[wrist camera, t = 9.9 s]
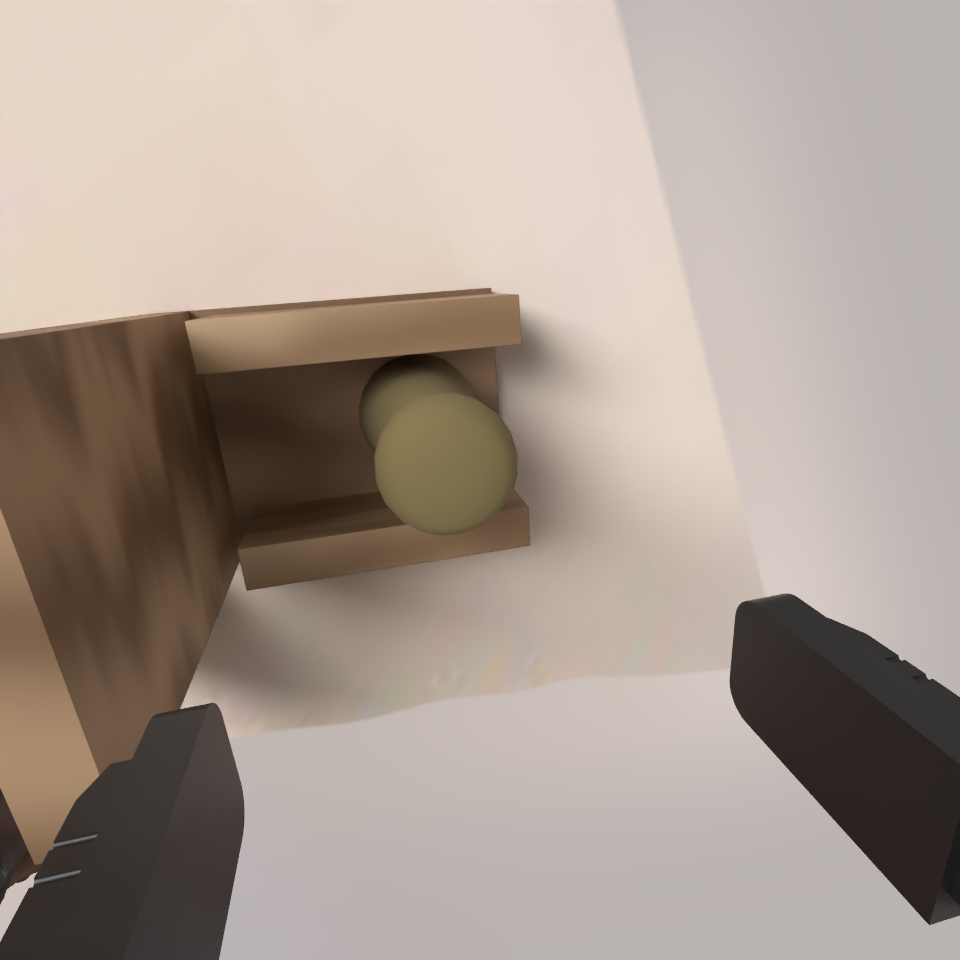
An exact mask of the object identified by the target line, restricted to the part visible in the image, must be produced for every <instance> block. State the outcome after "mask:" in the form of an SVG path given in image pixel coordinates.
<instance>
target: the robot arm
mask: <svg viewBox="0 0 960 960" xmlns="http://www.w3.org/2000/svg"><path fill="white" fill-rule="evenodd" d="M730 689H731V694H732V697H733V700H734V703H735V705H736V708H737V710H738V711H739V713H740V715H741V716H742V718H743V719H744V720H745V722H746V723H747V724H748V725H749V726H750V727H751V728H752V729H753V731H754V732H755V733H756V734H757V735H758V736H759V737H760V738H761V739H762V740H763V742H764V743H765V744H766V745H767V746H768V747H769V748H770V749H771V750H772V752H773V753H774V754H775V755H776V756H777V757H778V758H779V759H780V760H781V762H782V763H783V764H784V765H785V766H786V767H787V768H788V769H789V770H790V772H791V773H792V774H793V775H794V776H795V777H796V778H797V779H798V780H799V781H800V783H801V784H802V785H803V786H804V787H805V788H806V789H807V790H808V791H809V793H810V794H811V795H812V796H813V797H814V798H815V799H816V800H817V801H818V802H819V803H820V805H821V806H822V807H823V808H824V809H825V810H826V811H827V813H828V814H829V815H830V816H831V817H832V818H833V819H834V820H835V821H836V822H837V824H839V826H840V827H841V828H842V829H843V830H844V831H845V832H846V834H847V835H848V836H849V837H850V838H851V839H852V840H853V841H854V842H855V844H856V845H857V846H858V847H859V848H860V849H861V850H862V851H863V852H864V853H865V854H866V855H867V857H868V858H869V859H870V860H871V861H872V862H873V863H874V865H875V866H876V867H877V868H878V869H879V870H880V871H881V872H882V873H883V874H884V876H885V877H886V878H887V879H888V880H889V881H890V882H891V883H892V884H893V886H894V887H895V888H896V889H897V890H898V891H899V892H900V893H901V894H902V895H903V897H904V898H905V899H906V900H907V901H908V902H909V903H910V904H911V905H912V906H913V908H914V909H915V910H916V911H917V912H918V913H919V914H920V915H921V917H922V918H923V919H924V920H925V921H926V922H927V923H928V924H929V925H931V924H934V923H937V922H940V921H943V920H947V919H950V918H953V917H956V916H959V915H960V697H959V696H957V695H956V694H954V693H953V692H951V691H950V690H949V689H947V688H946V687H944V686H943V685H941V684H940V683H938V682H937V681H935V680H934V679H931V680H928V679H927V677H926V674H925V673H923V672H922V671H920V670H919V669H917V668H916V667H915V666H913V665H911V664H910V663H909V662H907V661H906V660H903V661H901V660H900V659H899V657H898V655H897V654H895V653H894V652H892V651H891V650H889V649H888V648H887V647H885V646H884V645H882V644H880V643H879V642H878V641H876V640H875V639H873V638H872V637H870V636H869V635H867V634H865V633H863V632H860V631H858V630H856V629H853V628H851V627H848V626H846V625H844V624H841V623H839V622H837V621H834V620H832V619H829V618H826V617H825V616H823V615H822V614H821V613H819V612H818V611H816V610H815V609H814V608H812V607H811V606H809V605H808V604H806V603H805V602H803V601H802V600H801V599H799V598H798V597H796V596H794V595H792V594H781V595H776V596H771V597H765V598H760V599H755V600H750V601H745V602H742V603H741V604H740V605H739V606H738V608H737V611H736V616H735V626H734V637H733V648H732V659H731V671H730ZM243 829H244V798H243V790H242V786H241V782H240V778H239V774H238V771H237V767H236V764H235V760H234V757H233V753H232V749H231V746H230V742H229V738H228V735H227V731H226V728H225V724H224V720H223V717H222V714H221V711H220V709H219V707H218V706H217V705H216V704H215V703H210V704H205V705H200V706H195V707H189V708H184V709H179V710H174V711H169V712H164V713H158V714H155V715H154V716H153V717H152V718H151V719H150V721H149V723H148V725H147V727H146V729H145V732H144V734H143V736H142V738H141V740H140V742H139V745H138V747H137V749H136V751H135V753H134V756H133V758H132V759H131V760H126V761H121V762H116V763H111V764H110V765H109V766H108V767H107V768H106V769H105V770H104V771H103V772H102V773H101V774H100V775H99V776H98V777H97V779H96V780H95V781H94V782H93V783H92V784H91V785H90V786H89V787H88V788H87V789H86V790H85V791H84V792H83V793H82V794H81V795H80V796H79V797H78V798H77V800H76V801H75V802H74V804H73V806H72V808H71V810H70V812H69V814H68V815H67V817H66V819H65V821H64V823H63V825H62V827H61V829H60V831H59V832H58V834H57V836H56V838H55V840H54V842H53V843H54V847H53V850H50V851H48V853H47V855H46V857H45V859H44V861H43V863H42V864H41V866H40V868H39V870H38V872H37V874H36V876H35V878H34V886H33V887H32V888H29V889H28V891H27V893H26V895H25V896H24V899H23V900H22V902H21V904H20V906H19V908H18V910H17V912H16V913H15V915H14V917H13V919H12V921H11V923H10V925H9V927H8V929H7V930H6V932H5V934H4V936H3V938H2V940H1V942H0V960H219V956H220V951H221V946H222V940H223V935H224V930H225V925H226V920H227V915H228V909H229V904H230V899H231V894H232V889H233V884H234V879H235V874H236V868H237V863H238V858H239V852H240V848H241V843H242V837H243Z"/></svg>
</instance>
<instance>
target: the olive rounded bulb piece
mask: <svg viewBox="0 0 960 960" xmlns="http://www.w3.org/2000/svg"><path fill="white" fill-rule="evenodd" d="M359 418H360V427H361V429H362V431H363V434H364V436H365V438H366V441H367V443H368V444H369V445H370V447H371V448H372V449H373V451H374V452H375V455H374V459H375V474H376V483H377V486H378V488H379V491H380V493H381V495H382V498H383V500H384V502H385V504H386V505H387V506H388V507H389V508H390V509H391V510H392V511H393V512H394V513H395V515H396V516H397V517H398V518H399V519H400V520H402V521H403V522H405V523H406V524H408V525H410V526H412V527H413V528H415V529H417V530H419V531H421V532H425V533H430V534H435V535H440V536H445V535H455V534H463V533H466V532H468V531H471V530H473V529H476V528H478V527H481V526H482V525H484V524H485V523H486V522H487V521H489V520H490V519H491V518H493V517H494V516H495V515H496V514H498V513H499V511H500V510H501V508H502V507H503V506H504V504H505V503H506V501H507V500H508V499H509V497H510V496H511V493H512V490H513V487H514V484H515V481H516V478H517V451H516V448H515V445H514V442H513V439H512V436H511V432H510V430H509V429H508V428H507V426H506V425H505V424H504V422H503V421H502V420H501V418H500V417H499V416H498V414H497V413H495V412H494V411H493V410H491V409H490V408H488V407H487V406H485V405H484V404H483V403H481V402H480V401H478V400H477V399H475V398H474V395H473V392H472V390H471V387H470V384H469V383H468V382H467V380H466V379H465V378H464V376H463V375H462V374H461V372H460V371H459V370H458V369H457V368H455V367H454V366H452V365H451V364H450V363H448V362H447V361H445V360H444V359H441V358H437V357H434V356H431V355H427V354H409V355H404V356H401V357H398V358H396V359H393V360H390V361H388V362H387V363H386V364H384V365H383V366H382V367H381V368H379V369H378V370H377V371H376V372H374V373H373V375H372V376H371V378H370V379H369V381H368V382H367V384H366V386H365V387H364V389H363V392H362V396H361V400H360V404H359Z"/></svg>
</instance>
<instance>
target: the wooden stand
mask: <svg viewBox="0 0 960 960" xmlns="http://www.w3.org/2000/svg"><path fill="white" fill-rule="evenodd" d="M515 344H521V331H520V309H519V295H515V294H491V288H482V289H469V290H456V291H443V292H430V293H417V294H404V295H391V296H378V297H365V298H352V299H339V300H326V301H313V302H300V303H287V304H274V305H261V306H248V307H235V308H222V309H209V310H196V311H183V312H170V313H156V314H146V315H138V316H130V317H123V318H115V319H108V320H100V321H93V322H85V323H78V324H70V325H62V326H55V327H47V328H40V329H32V330H25V331H17V332H9V333H2V334H0V788H1V791H2V793H3V795H4V797H5V800H6V802H7V804H8V806H9V808H10V811H11V813H12V815H13V817H14V820H15V822H16V824H17V826H18V828H19V831H20V833H21V835H22V837H23V840H24V842H25V844H26V846H27V848H28V851H29V853H30V855H31V857H32V860H33V862H34V864H35V865H37V864H41V863H43V861H44V859H45V857H46V855H47V853H48V851H50V850H53V847H54V843H53V842H54V840H55V838H56V836H57V834H58V832H59V831H60V829H61V827H62V825H63V823H64V821H65V819H66V817H67V815H68V814H69V812H70V810H71V808H72V806H73V804H74V802H75V801H76V800H77V798H78V797H79V796H80V795H81V794H82V793H83V792H84V791H85V790H86V789H87V788H88V787H89V786H90V785H91V784H92V783H93V782H94V781H95V780H96V779H97V777H98V776H99V775H100V774H101V773H102V772H103V771H104V770H105V769H106V768H107V767H108V766H109V765H110V764H111V763H116V762H121V761H126V760H131V759H132V758H133V756H134V753H135V751H136V749H137V747H138V745H139V742H140V740H141V738H142V736H143V734H144V732H145V729H146V727H147V725H148V723H149V721H150V719H151V718H152V717H153V716H154V715H155V714H158V713H164V712H169V711H174V710H179V709H180V708H181V705H182V703H183V700H184V698H185V695H186V693H187V690H188V688H189V685H190V683H191V680H192V678H193V675H194V673H195V670H196V668H197V665H198V663H199V661H200V658H201V656H202V653H203V651H204V648H205V646H206V643H207V641H208V638H209V636H210V633H211V631H212V628H213V626H214V623H215V621H216V618H217V616H218V613H219V611H220V608H221V606H222V604H223V601H224V599H225V596H226V594H227V591H228V589H229V586H230V584H231V581H232V579H233V576H234V574H235V571H236V569H237V566H238V564H239V561H240V563H241V568H242V572H243V576H244V581H245V585H246V589H247V591H248V590H254V589H260V588H267V587H273V586H279V585H285V584H292V583H298V582H304V581H311V580H317V579H323V578H329V577H336V576H342V575H348V574H354V573H361V572H367V571H373V570H380V569H386V568H392V567H398V566H405V565H411V564H417V563H423V562H430V561H436V560H442V559H449V558H455V557H461V556H467V555H474V554H480V553H486V552H492V551H499V550H505V549H511V548H518V547H524V546H530V533H529V511H528V506H527V505H526V503H525V502H524V501H523V500H522V499H521V497H520V496H519V495H518V494H517V492H516V491H515V490H514V489H513V490H512V493H511V496H510V497H509V499H508V500H507V501H506V503H505V504H504V506H503V507H502V508H501V510H500V511H499V513H498V514H496V515H495V516H494V517H493V518H491V519H490V520H489V521H487V522H486V523H485V524H484V525H482V526H481V527H478V528H476V529H473V530H471V531H468V532H466V533H463V534H455V535H445V536H440V535H435V534H430V533H425V532H421V531H419V530H417V529H415V528H413V527H412V526H410V525H408V524H406V523H405V522H403V521H402V520H400V519H399V518H398V517H397V516H396V515H395V513H394V512H393V511H392V510H391V509H390V508H389V507H388V506H387V505H386V504H385V502H384V500H383V498H382V495H381V493H380V491H379V488H378V486H377V483H376V474H375V459H374V455H375V452H374V451H373V449H372V448H371V447H370V445H369V444H368V443H367V441H366V438H365V436H364V434H363V431H362V429H361V427H360V418H359V404H360V400H361V396H362V392H363V389H364V387H365V386H366V384H367V382H368V381H369V379H370V378H371V376H372V375H373V373H374V372H376V371H377V370H378V369H379V368H381V367H382V366H383V365H384V364H386V363H387V362H388V361H390V360H393V359H396V358H398V357H401V356H404V355H409V354H427V355H431V356H434V357H437V358H441V359H444V360H445V361H447V362H448V363H450V364H451V365H452V366H454V367H455V368H457V369H458V370H459V371H460V372H461V374H462V375H463V376H464V378H465V379H466V380H467V382H468V383H469V384H470V387H471V390H472V392H473V395H474V398H475V399H477V400H478V401H480V402H481V403H483V404H484V405H485V406H487V407H488V408H490V409H491V410H493V411H494V412H495V413H497V414H498V416H499V413H498V396H497V379H496V362H495V346H504V345H515Z"/></svg>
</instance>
